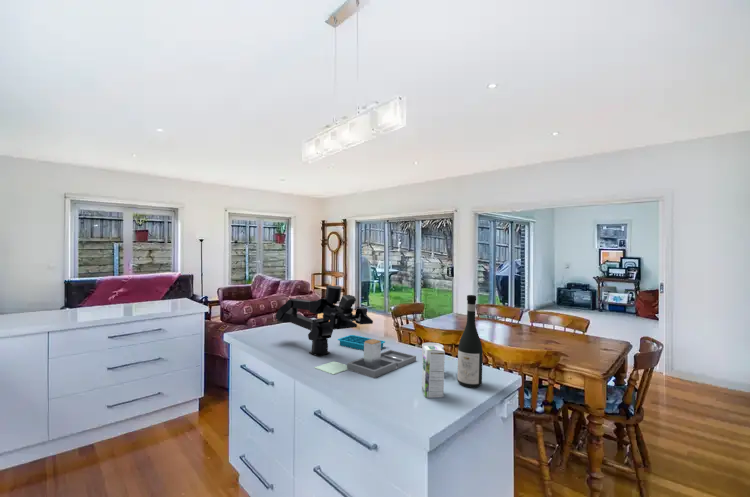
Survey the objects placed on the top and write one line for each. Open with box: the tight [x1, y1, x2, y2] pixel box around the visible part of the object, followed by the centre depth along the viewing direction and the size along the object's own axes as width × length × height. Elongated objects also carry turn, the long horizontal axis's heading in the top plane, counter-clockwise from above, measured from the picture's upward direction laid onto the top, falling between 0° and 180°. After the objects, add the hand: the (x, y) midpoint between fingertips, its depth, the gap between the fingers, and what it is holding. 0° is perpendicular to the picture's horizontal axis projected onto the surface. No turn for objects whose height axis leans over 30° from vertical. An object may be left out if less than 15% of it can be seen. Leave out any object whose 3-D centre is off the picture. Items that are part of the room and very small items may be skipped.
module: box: [363, 338, 382, 370], centre depth 130 cm, size 4×5×10 cm
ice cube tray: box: [337, 334, 386, 351], centre depth 161 cm, size 12×20×3 cm, turn 56°
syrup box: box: [421, 345, 446, 399], centre depth 109 cm, size 6×6×14 cm
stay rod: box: [384, 355, 403, 361], centre depth 140 cm, size 10×1×1 cm, turn 51°
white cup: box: [421, 342, 445, 365], centre depth 129 cm, size 8×8×10 cm
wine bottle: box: [457, 294, 484, 389], centre depth 118 cm, size 8×8×30 cm
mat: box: [313, 361, 349, 375], centre depth 130 cm, size 10×10×1 cm
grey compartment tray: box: [346, 349, 417, 379], centre depth 135 cm, size 13×27×2 cm, turn 141°
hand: (364, 324), depth 132 cm, fingers open, 9 cm apart
